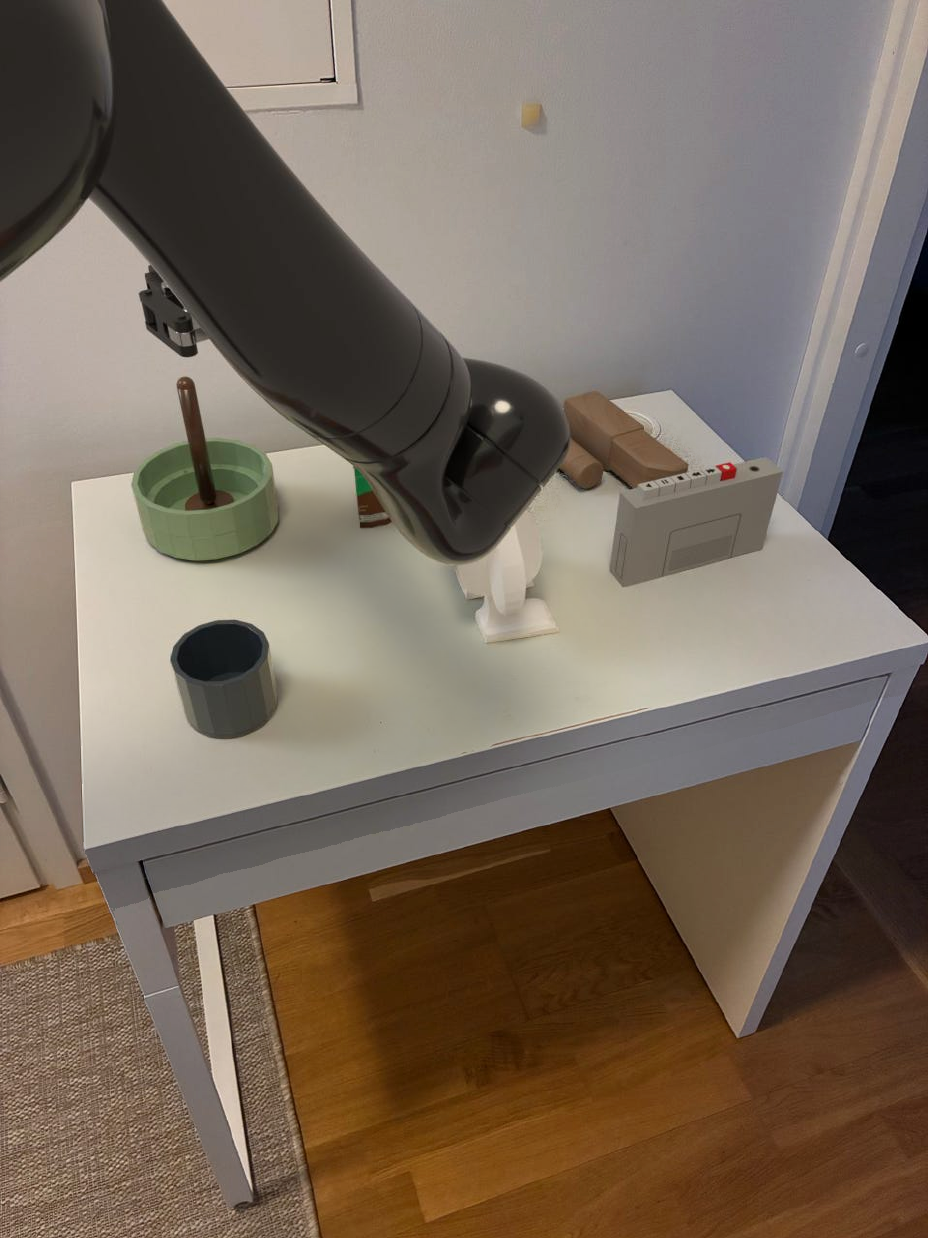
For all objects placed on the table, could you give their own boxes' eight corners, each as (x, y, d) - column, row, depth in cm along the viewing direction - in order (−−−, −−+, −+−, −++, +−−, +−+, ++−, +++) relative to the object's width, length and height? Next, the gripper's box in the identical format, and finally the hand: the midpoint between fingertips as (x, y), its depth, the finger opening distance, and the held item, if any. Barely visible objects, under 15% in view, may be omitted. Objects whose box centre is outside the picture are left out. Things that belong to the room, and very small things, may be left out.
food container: (420, 537, 95) (418, 450, 88) (358, 536, 95) (351, 449, 88) (425, 469, 104) (424, 386, 98) (369, 468, 104) (363, 385, 98)
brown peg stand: (194, 538, 94) (163, 394, 83) (183, 512, 97) (151, 371, 87) (242, 526, 95) (217, 383, 85) (229, 501, 98) (203, 360, 88)
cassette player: (746, 533, 96) (767, 447, 90) (762, 549, 94) (785, 462, 88) (609, 570, 92) (621, 482, 85) (623, 587, 90) (637, 498, 83)
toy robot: (566, 646, 84) (587, 447, 70) (467, 665, 82) (470, 465, 68) (516, 551, 94) (526, 362, 80) (427, 567, 92) (423, 375, 78)
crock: (197, 751, 74) (183, 697, 70) (175, 688, 79) (161, 635, 75) (289, 720, 77) (280, 667, 73) (262, 662, 82) (252, 609, 78)
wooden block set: (593, 377, 109) (695, 453, 97) (588, 421, 112) (685, 499, 101) (462, 412, 102) (554, 497, 91) (461, 457, 106) (550, 545, 94)
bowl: (161, 579, 90) (148, 528, 86) (133, 505, 99) (119, 455, 95) (296, 543, 94) (289, 492, 90) (257, 476, 103) (249, 426, 99)
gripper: (413, 263, 61) (291, 192, 71) (204, 318, 54) (102, 232, 64) (416, 372, 66) (302, 291, 76) (225, 434, 60) (127, 337, 69)
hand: (210, 264), depth 70 cm, fingers open, 8 cm apart
